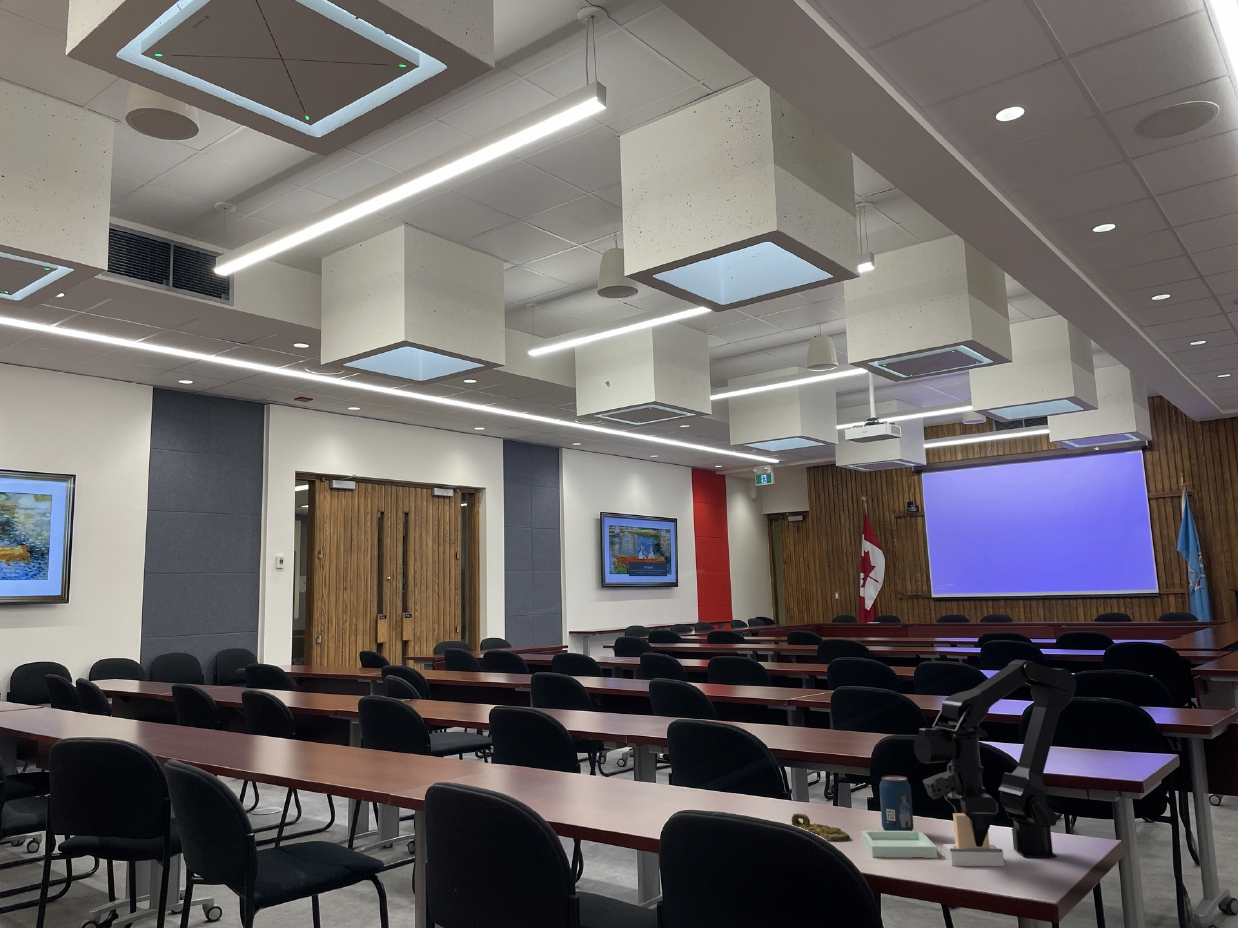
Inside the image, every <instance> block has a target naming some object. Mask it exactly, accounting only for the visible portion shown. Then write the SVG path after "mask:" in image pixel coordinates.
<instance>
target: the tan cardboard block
mask: <svg viewBox="0 0 1238 928" xmlns="http://www.w3.org/2000/svg"><path fill="white" fill-rule="evenodd" d="M952 817H953V828H954V829H953V831H954V842H955V843H954V844H955V845H956V848H983V849H990V846H989V844H990V836H989V831H988V832H987V835H986V838H985V840H984V843H983V845H982V847H977V846H976V844H975V840H974V836H973V832H972V828H971V824H970V819H969V818H968V817H967V816H966V815H965V814H964V813H954V812H953V813H952Z"/></svg>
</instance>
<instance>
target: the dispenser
mask: <svg viewBox="0 0 1238 928" xmlns="http://www.w3.org/2000/svg"><path fill="white" fill-rule="evenodd" d="M942 846H943V847H942V849H943V858H945V860H946V861H947V862H948V863H949V864H950V865H951V866H954V867H955V866H957V867H958V866H960V867H1005V857H1004V855H1005V854H1004V852H1003V849H1002V848H998V847H997V846H996V845H995V844H990V843H989V846H990V849H983V848H956V845H955V843H943V844H942Z"/></svg>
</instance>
